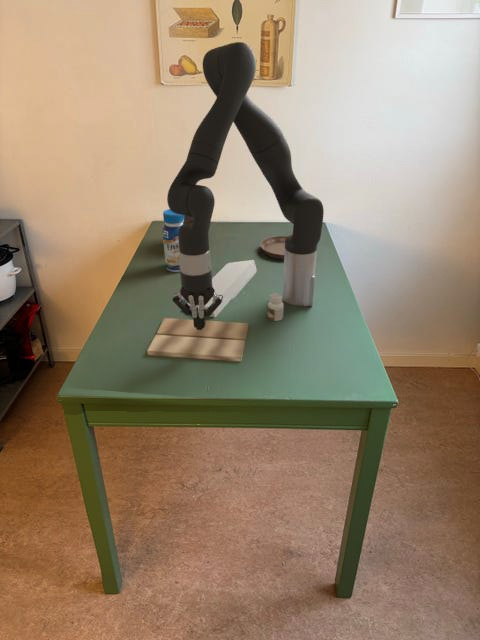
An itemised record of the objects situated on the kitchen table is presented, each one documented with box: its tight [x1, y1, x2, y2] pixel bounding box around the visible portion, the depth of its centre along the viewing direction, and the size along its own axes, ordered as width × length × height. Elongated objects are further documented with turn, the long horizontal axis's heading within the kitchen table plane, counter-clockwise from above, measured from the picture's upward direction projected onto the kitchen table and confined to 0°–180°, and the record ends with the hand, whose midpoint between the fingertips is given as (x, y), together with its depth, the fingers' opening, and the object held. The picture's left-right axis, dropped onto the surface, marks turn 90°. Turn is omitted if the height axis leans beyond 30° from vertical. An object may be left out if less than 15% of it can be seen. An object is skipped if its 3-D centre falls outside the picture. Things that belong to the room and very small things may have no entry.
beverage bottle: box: [162, 208, 184, 273], centre depth 171 cm, size 8×8×20 cm
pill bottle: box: [267, 292, 285, 322], centre depth 144 cm, size 4×4×8 cm
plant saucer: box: [260, 235, 289, 260], centre depth 187 cm, size 18×18×3 cm
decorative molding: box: [187, 259, 258, 318], centre depth 161 cm, size 34×5×10 cm
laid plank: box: [156, 317, 250, 342], centre depth 139 cm, size 24×8×2 cm, turn 83°
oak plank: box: [147, 334, 246, 362], centre depth 131 cm, size 24×8×2 cm, turn 83°
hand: (199, 328), depth 131 cm, fingers closed
